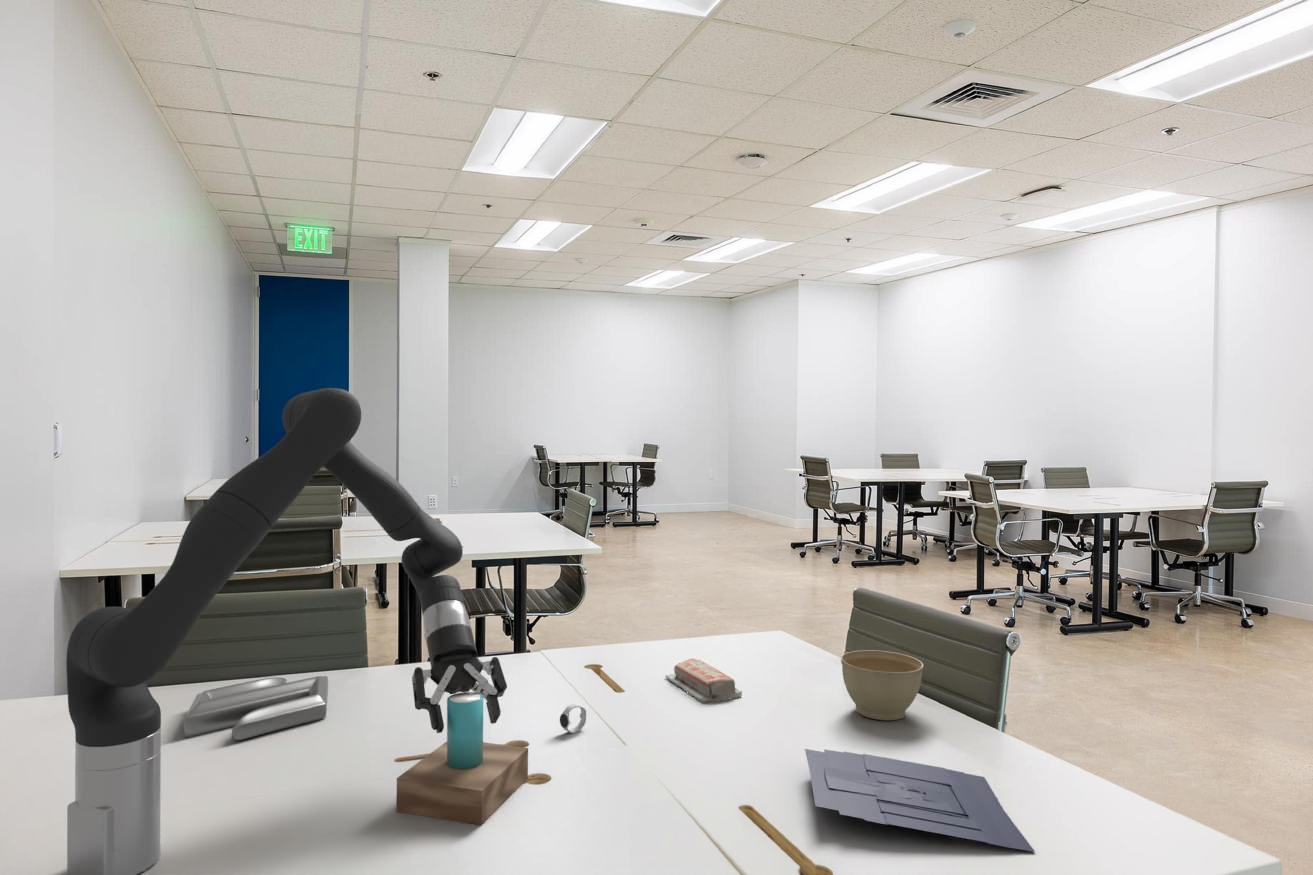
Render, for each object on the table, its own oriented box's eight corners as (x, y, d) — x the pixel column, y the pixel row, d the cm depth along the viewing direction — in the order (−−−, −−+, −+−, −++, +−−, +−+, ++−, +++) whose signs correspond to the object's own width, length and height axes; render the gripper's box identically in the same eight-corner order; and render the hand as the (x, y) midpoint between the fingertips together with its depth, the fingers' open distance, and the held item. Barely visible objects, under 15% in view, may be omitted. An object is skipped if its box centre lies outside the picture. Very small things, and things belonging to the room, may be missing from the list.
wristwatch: (558, 732, 151) (559, 706, 151) (579, 726, 155) (579, 700, 155) (568, 737, 149) (568, 710, 149) (589, 730, 153) (589, 704, 153)
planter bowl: (939, 722, 160) (940, 667, 160) (872, 732, 154) (873, 675, 154) (888, 696, 175) (889, 646, 175) (824, 704, 169) (825, 653, 169)
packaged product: (744, 676, 173) (703, 682, 168) (743, 699, 173) (703, 705, 168) (703, 654, 189) (665, 659, 184) (702, 675, 189) (664, 680, 185)
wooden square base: (481, 825, 116) (482, 790, 116) (396, 811, 120) (396, 778, 120) (527, 778, 132) (528, 748, 132) (450, 767, 135) (451, 737, 135)
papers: (801, 759, 138) (804, 739, 138) (981, 792, 135) (984, 770, 135) (813, 831, 114) (817, 805, 114) (1032, 872, 111) (1036, 846, 111)
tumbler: (472, 770, 122) (472, 704, 122) (440, 766, 124) (440, 701, 124) (489, 756, 128) (489, 693, 128) (458, 752, 129) (458, 690, 129)
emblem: (248, 662, 175) (364, 673, 169) (248, 687, 175) (364, 698, 169) (141, 707, 147) (276, 720, 142) (141, 736, 148) (275, 750, 142)
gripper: (409, 627, 128) (426, 722, 119) (495, 617, 135) (518, 706, 126) (401, 651, 133) (417, 745, 123) (485, 641, 140) (506, 729, 130)
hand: (468, 725), depth 125 cm, fingers open, 8 cm apart
